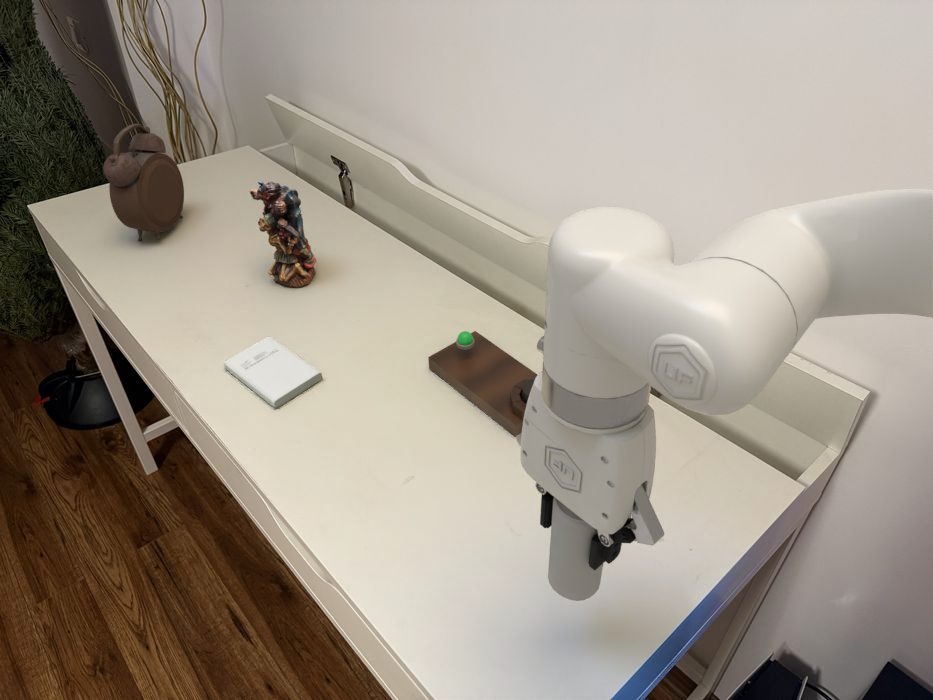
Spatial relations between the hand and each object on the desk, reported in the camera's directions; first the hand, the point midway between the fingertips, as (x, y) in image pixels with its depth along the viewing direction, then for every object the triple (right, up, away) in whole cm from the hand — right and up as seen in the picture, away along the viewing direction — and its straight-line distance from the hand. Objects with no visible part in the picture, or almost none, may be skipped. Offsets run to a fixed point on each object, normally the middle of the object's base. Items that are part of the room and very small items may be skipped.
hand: (578, 536), depth 60 cm
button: (-1, +10, +31) cm, 32 cm away
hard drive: (-38, +12, +40) cm, 57 cm away
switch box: (-5, +11, +37) cm, 39 cm away
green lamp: (-10, +17, +39) cm, 43 cm away
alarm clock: (-68, +39, +72) cm, 106 cm away
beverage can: (0, -5, +4) cm, 7 cm away
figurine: (-40, +28, +59) cm, 77 cm away
